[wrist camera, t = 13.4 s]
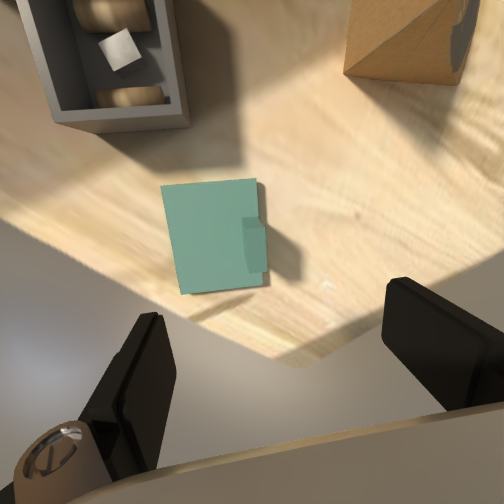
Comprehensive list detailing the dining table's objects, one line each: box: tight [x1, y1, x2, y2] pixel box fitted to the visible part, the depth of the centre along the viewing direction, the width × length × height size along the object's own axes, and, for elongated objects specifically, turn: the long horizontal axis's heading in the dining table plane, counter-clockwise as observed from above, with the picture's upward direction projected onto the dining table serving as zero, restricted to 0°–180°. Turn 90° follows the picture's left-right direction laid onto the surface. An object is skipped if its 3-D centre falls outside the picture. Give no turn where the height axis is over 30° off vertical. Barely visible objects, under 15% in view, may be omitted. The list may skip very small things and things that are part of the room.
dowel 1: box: [73, 0, 153, 34], centre depth 23 cm, size 6×2×2 cm, turn 95°
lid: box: [160, 178, 268, 295], centre depth 29 cm, size 11×14×8 cm
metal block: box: [98, 28, 147, 79], centre depth 24 cm, size 3×2×2 cm
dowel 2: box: [96, 86, 166, 109], centre depth 25 cm, size 6×2×2 cm
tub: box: [16, 0, 191, 134], centre depth 22 cm, size 11×14×7 cm
